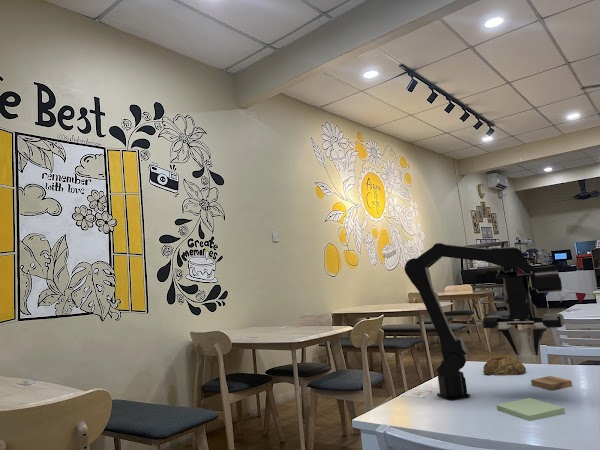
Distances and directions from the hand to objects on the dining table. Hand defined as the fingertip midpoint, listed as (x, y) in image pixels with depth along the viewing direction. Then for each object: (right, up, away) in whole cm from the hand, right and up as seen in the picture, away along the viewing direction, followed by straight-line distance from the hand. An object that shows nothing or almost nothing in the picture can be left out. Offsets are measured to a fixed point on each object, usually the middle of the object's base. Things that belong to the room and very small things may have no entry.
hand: (527, 354), depth 114 cm
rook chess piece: (0, -2, 0) cm, 2 cm away
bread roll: (+7, -15, +29) cm, 33 cm away
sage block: (-5, -11, -12) cm, 17 cm away
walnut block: (+11, -11, +8) cm, 18 cm away
